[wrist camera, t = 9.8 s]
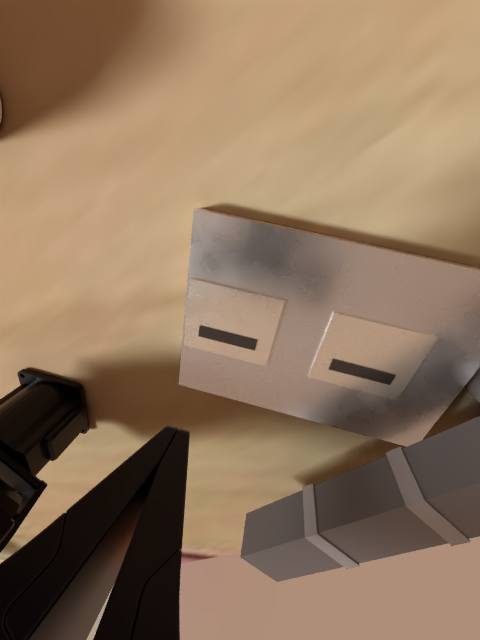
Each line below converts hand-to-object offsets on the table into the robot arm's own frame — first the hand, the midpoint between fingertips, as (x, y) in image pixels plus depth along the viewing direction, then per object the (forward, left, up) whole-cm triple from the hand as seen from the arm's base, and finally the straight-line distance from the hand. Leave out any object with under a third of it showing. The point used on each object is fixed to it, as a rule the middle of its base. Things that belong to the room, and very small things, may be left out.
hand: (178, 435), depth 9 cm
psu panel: (+6, 0, -10) cm, 12 cm away
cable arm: (+12, -8, -10) cm, 18 cm away
